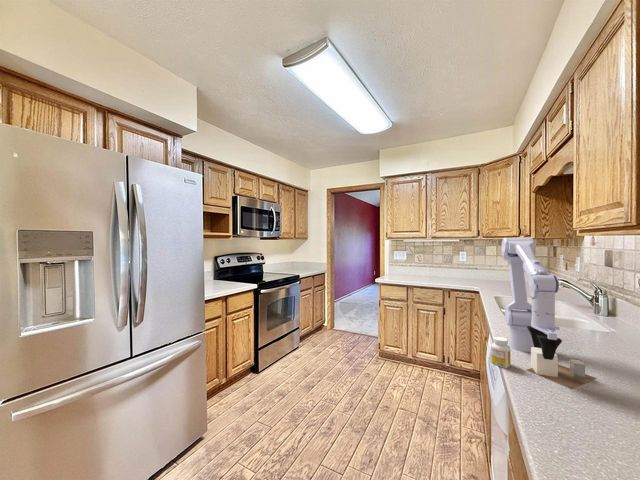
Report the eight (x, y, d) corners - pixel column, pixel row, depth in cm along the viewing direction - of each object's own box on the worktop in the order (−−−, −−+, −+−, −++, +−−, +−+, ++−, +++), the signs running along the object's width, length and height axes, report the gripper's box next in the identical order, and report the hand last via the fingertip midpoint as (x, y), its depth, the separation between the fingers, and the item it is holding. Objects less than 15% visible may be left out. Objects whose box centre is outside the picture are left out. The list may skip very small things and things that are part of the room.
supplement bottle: (502, 362, 94) (502, 335, 94) (514, 370, 89) (514, 341, 89) (488, 363, 94) (487, 335, 94) (498, 371, 89) (498, 341, 89)
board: (550, 364, 93) (550, 361, 93) (597, 381, 82) (597, 378, 82) (525, 372, 87) (525, 369, 87) (571, 392, 76) (571, 388, 76)
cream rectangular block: (531, 366, 89) (530, 346, 89) (550, 369, 87) (550, 349, 87) (537, 374, 84) (536, 353, 84) (557, 377, 82) (557, 355, 82)
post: (569, 373, 84) (569, 359, 84) (580, 375, 83) (580, 360, 83) (574, 377, 82) (574, 363, 82) (585, 379, 81) (585, 364, 81)
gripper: (570, 319, 77) (570, 366, 78) (549, 307, 91) (549, 346, 91) (540, 317, 80) (540, 362, 80) (523, 305, 94) (524, 343, 94)
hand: (543, 353), depth 86 cm, fingers open, 7 cm apart
